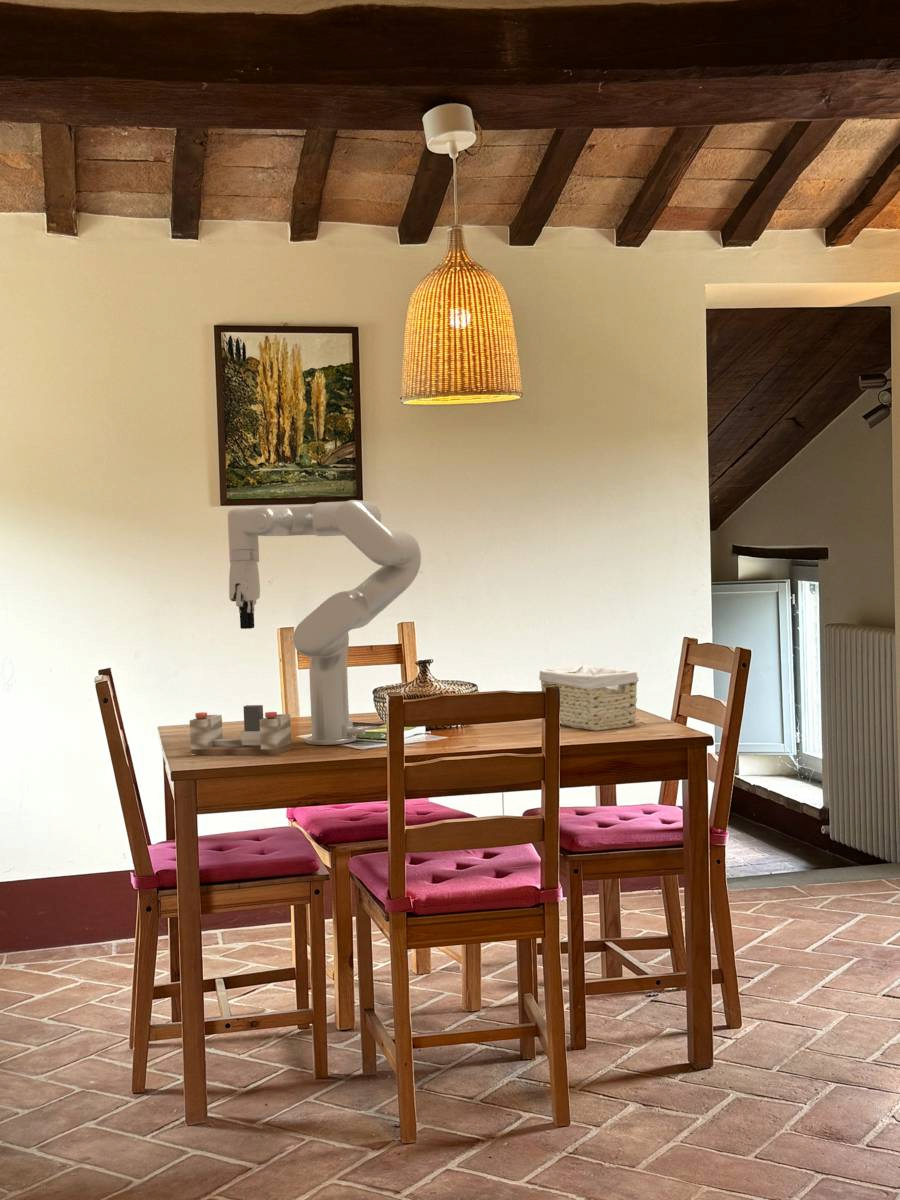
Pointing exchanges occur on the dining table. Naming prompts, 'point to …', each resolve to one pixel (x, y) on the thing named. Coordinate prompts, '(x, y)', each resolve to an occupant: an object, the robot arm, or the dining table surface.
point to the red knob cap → (271, 715)
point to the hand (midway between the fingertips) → (247, 628)
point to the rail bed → (211, 741)
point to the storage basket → (594, 696)
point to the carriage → (252, 724)
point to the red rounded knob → (201, 715)
